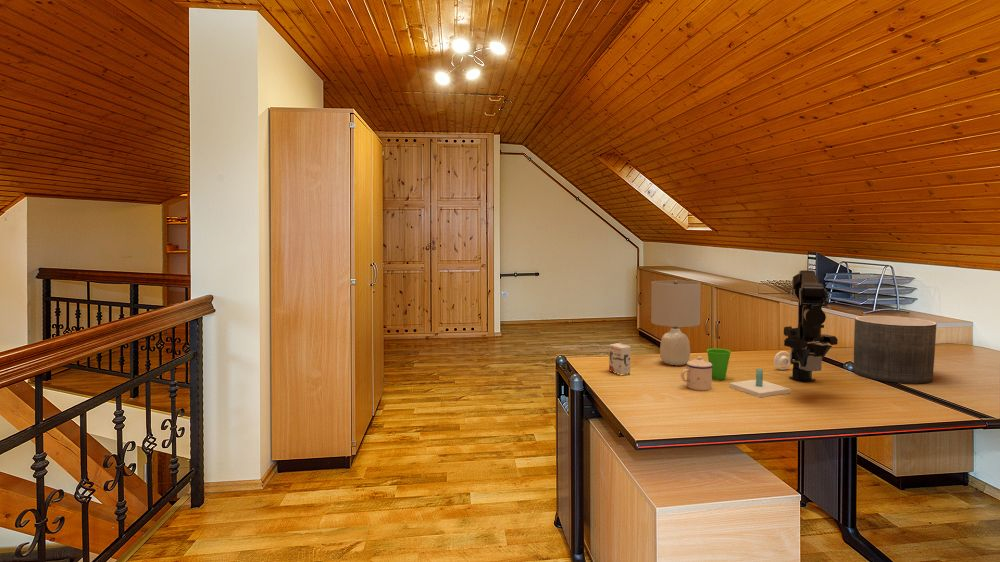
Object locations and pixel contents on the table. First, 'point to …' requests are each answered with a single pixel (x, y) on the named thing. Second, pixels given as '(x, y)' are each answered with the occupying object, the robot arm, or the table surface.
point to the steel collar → (813, 362)
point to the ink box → (619, 358)
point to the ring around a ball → (782, 360)
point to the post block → (759, 386)
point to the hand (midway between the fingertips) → (810, 365)
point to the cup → (718, 362)
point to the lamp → (675, 316)
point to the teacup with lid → (698, 374)
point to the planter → (894, 349)
